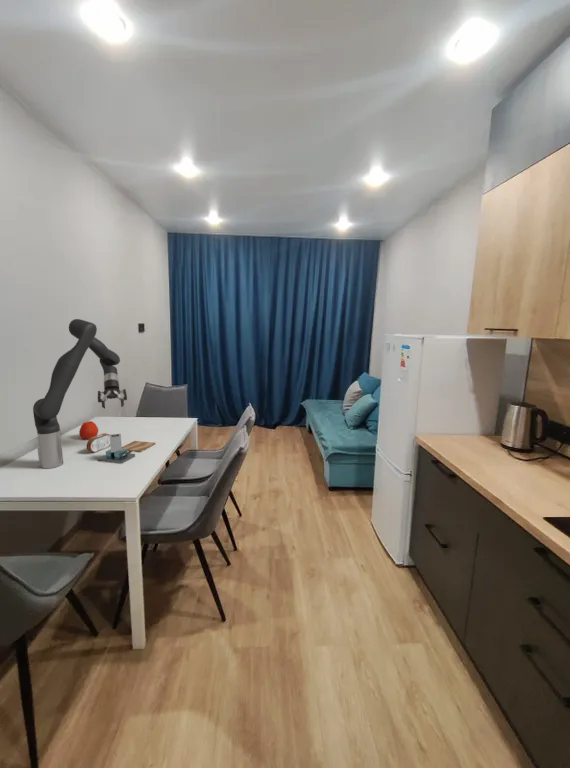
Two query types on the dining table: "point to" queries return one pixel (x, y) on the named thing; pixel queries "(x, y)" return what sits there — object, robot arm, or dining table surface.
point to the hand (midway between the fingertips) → (113, 406)
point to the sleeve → (115, 443)
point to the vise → (117, 456)
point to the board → (138, 446)
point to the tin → (98, 442)
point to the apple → (88, 430)
